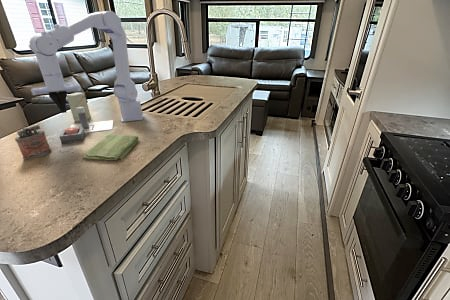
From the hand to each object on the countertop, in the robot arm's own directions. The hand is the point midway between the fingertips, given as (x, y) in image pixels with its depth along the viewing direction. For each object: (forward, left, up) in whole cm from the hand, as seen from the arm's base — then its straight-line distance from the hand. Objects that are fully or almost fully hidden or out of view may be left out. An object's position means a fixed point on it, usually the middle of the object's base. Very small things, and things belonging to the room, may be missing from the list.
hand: (64, 112), depth 89 cm
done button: (-1, +2, -9) cm, 9 cm away
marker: (-4, -8, -10) cm, 14 cm away
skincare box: (-1, -22, -11) cm, 25 cm away
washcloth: (-16, +17, -11) cm, 26 cm away
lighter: (+8, +13, -11) cm, 18 cm away
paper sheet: (-6, -9, -10) cm, 15 cm away
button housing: (-1, +2, -10) cm, 11 cm away
